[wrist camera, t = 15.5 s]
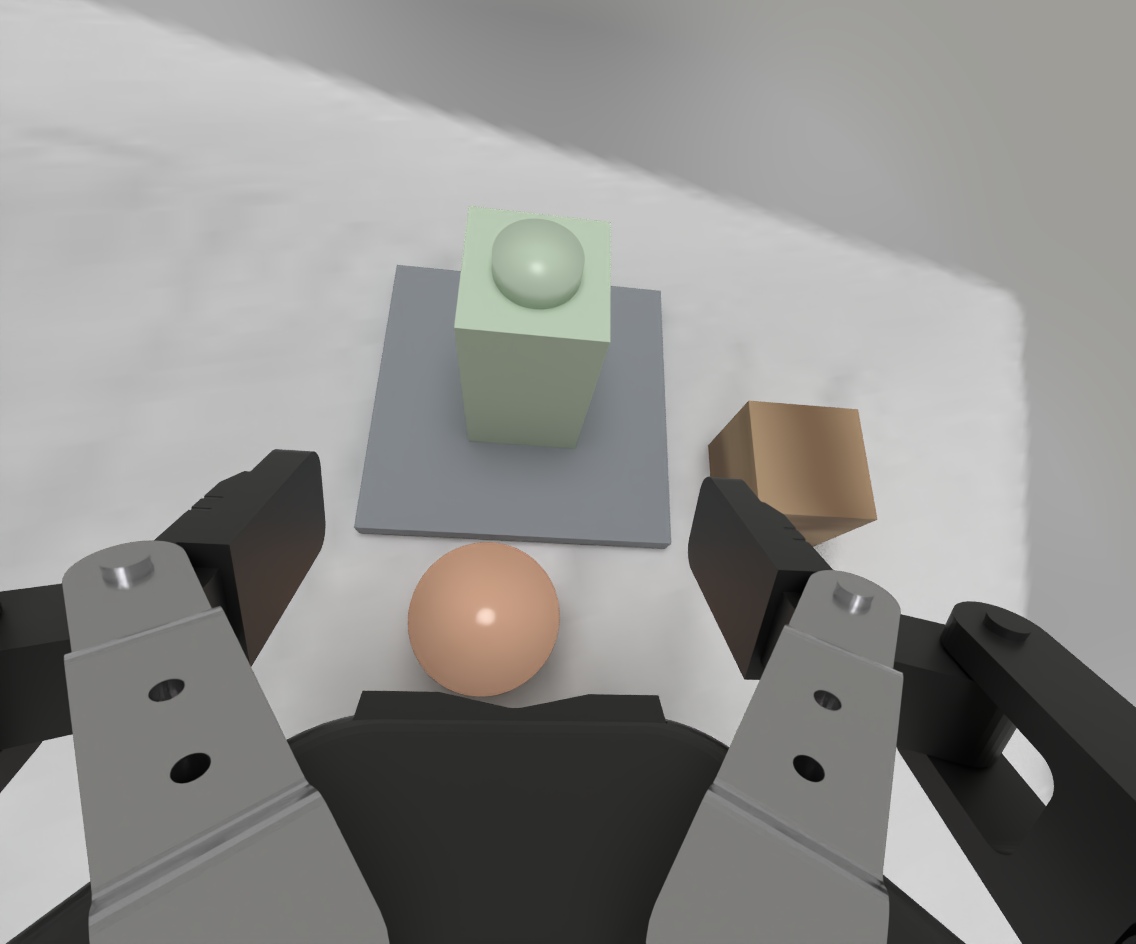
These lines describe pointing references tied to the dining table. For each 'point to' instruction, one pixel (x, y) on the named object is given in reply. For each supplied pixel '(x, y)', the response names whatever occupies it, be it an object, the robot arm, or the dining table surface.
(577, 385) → the sage brick
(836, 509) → the walnut block
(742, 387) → the dining table surface
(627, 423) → the slate mat
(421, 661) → the terracotta cylinder
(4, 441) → the dining table surface
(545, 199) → the dining table surface
